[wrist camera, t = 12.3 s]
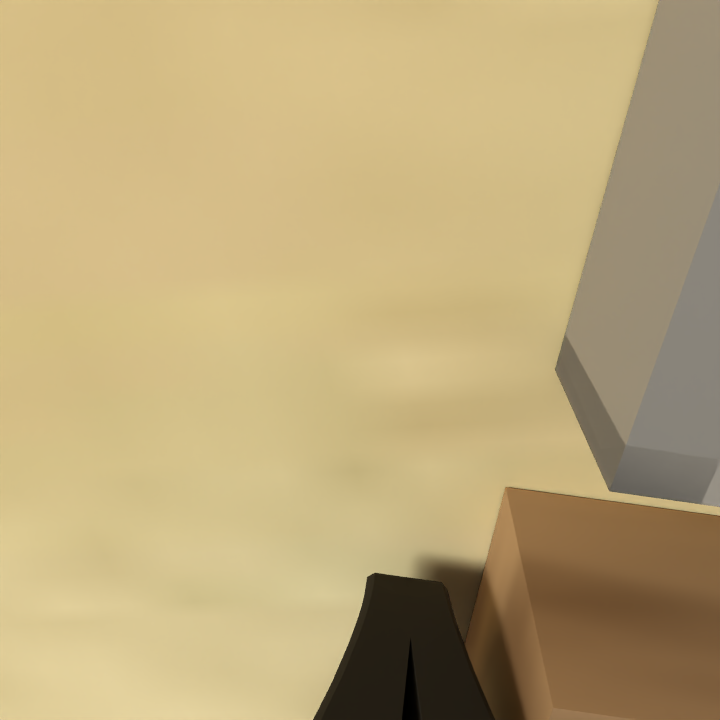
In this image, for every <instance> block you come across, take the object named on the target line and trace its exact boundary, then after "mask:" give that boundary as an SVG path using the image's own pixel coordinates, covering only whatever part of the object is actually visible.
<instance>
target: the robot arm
mask: <svg viewBox="0 0 720 720" xmlns="http://www.w3.org/2000/svg"><path fill="white" fill-rule="evenodd" d="M313 720H495V718H494V716H493V714H492V711H491V709H490V707H489V704H488V702H487V699H486V697H485V695H484V692H483V690H482V688H481V685H480V683H479V681H478V678H477V676H476V674H475V671H474V669H473V666H472V663H471V661H470V658H469V656H468V653H467V650H466V648H465V645H464V642H463V639H462V637H461V634H460V631H459V628H458V625H457V622H456V619H455V616H454V613H453V609H452V606H451V602H450V599H449V595H448V591H447V588H446V587H445V586H444V585H443V583H442V582H436V581H429V580H422V579H415V578H407V577H400V576H393V575H386V574H379V573H374V574H372V575H370V576H368V577H367V582H366V589H365V595H364V599H363V603H362V607H361V610H360V613H359V617H358V620H357V623H356V625H355V628H354V631H353V634H352V636H351V639H350V642H349V644H348V646H347V649H346V651H345V653H344V656H343V658H342V660H341V663H340V665H339V667H338V670H337V672H336V674H335V677H334V679H333V681H332V683H331V685H330V687H329V690H328V692H327V694H326V695H325V697H324V699H323V701H322V703H321V705H320V707H319V709H318V711H317V713H316V715H315V717H314V719H313Z"/></svg>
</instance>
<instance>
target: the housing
mask: <svg viewBox="0 0 720 720" xmlns="http://www.w3.org/2000/svg"><path fill="white" fill-rule="evenodd" d="M555 371H556V373H557V375H558V377H559V380H560V382H561V384H562V386H563V389H564V391H565V393H566V395H567V397H568V400H569V402H570V404H571V406H572V409H573V411H574V413H575V415H576V418H577V420H578V422H579V424H580V427H581V429H582V431H583V433H584V435H585V438H586V440H587V442H588V444H589V447H590V449H591V451H592V453H593V456H594V458H595V460H596V462H597V465H598V467H599V469H600V471H601V473H602V476H603V478H604V480H605V482H606V485H607V487H608V489H609V491H611V492H618V493H625V494H632V495H639V496H646V497H654V498H661V499H668V500H675V501H682V502H689V503H696V504H703V505H710V506H717V507H720V0H659V2H658V6H657V10H656V13H655V17H654V20H653V24H652V27H651V31H650V34H649V38H648V41H647V45H646V49H645V52H644V56H643V59H642V63H641V66H640V70H639V73H638V77H637V81H636V84H635V88H634V91H633V95H632V98H631V102H630V105H629V109H628V112H627V116H626V120H625V123H624V127H623V130H622V134H621V137H620V141H619V144H618V148H617V152H616V155H615V159H614V162H613V166H612V169H611V173H610V176H609V180H608V183H607V187H606V191H605V194H604V198H603V201H602V205H601V208H600V212H599V215H598V219H597V223H596V226H595V230H594V233H593V237H592V240H591V244H590V247H589V251H588V254H587V258H586V262H585V265H584V269H583V272H582V276H581V279H580V283H579V286H578V290H577V294H576V297H575V301H574V304H573V308H572V311H571V315H570V318H569V322H568V325H567V329H566V333H565V336H564V340H563V343H562V347H561V350H560V354H559V357H558V361H557V365H556V368H555Z"/></svg>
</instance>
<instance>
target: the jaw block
mask: <svg viewBox="0 0 720 720" xmlns="http://www.w3.org/2000/svg"><path fill="white" fill-rule="evenodd" d="M465 648H466V650H467V653H468V656H469V658H470V661H471V663H472V666H473V669H474V671H475V674H476V676H477V678H478V681H479V683H480V685H481V688H482V690H483V692H484V695H485V697H486V699H487V702H488V704H489V707H490V709H491V711H492V714H493V716H494V718H495V720H720V516H714V515H707V514H699V513H692V512H684V511H677V510H670V509H662V508H655V507H647V506H640V505H633V504H625V503H618V502H611V501H603V500H596V499H588V498H581V497H574V496H566V495H559V494H552V493H544V492H537V491H529V490H522V489H515V488H507V487H506V488H505V492H504V495H503V499H502V503H501V507H500V511H499V515H498V518H497V522H496V526H495V530H494V534H493V537H492V541H491V545H490V549H489V553H488V557H487V560H486V564H485V568H484V572H483V576H482V580H481V583H480V587H479V591H478V595H477V599H476V603H475V606H474V610H473V614H472V618H471V622H470V626H469V629H468V633H467V637H466V641H465Z"/></svg>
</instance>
